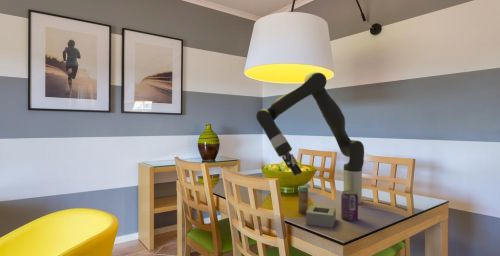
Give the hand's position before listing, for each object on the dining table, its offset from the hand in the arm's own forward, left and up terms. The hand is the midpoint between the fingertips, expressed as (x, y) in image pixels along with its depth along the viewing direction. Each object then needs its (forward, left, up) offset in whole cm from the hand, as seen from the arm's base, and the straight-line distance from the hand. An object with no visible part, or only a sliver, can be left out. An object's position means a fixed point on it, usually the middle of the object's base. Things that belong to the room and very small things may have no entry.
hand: (298, 173), depth 133 cm
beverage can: (0, +23, -19) cm, 30 cm away
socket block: (+8, +12, -19) cm, 23 cm away
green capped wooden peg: (-2, +2, -19) cm, 19 cm away
